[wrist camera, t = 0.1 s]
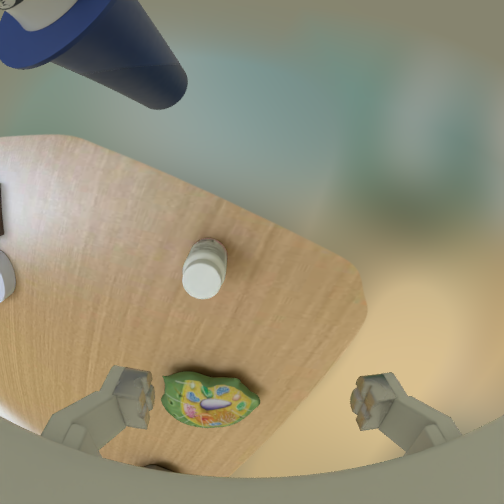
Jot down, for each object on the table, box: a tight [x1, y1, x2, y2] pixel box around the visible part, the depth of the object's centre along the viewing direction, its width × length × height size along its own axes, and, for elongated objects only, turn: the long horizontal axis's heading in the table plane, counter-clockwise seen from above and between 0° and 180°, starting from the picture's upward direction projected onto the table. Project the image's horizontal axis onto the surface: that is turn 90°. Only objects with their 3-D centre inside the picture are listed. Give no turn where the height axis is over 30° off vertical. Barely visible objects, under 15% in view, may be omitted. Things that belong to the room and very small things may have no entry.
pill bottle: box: [182, 238, 227, 299], centre depth 33 cm, size 5×5×8 cm
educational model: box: [161, 371, 260, 428], centre depth 42 cm, size 13×16×5 cm
